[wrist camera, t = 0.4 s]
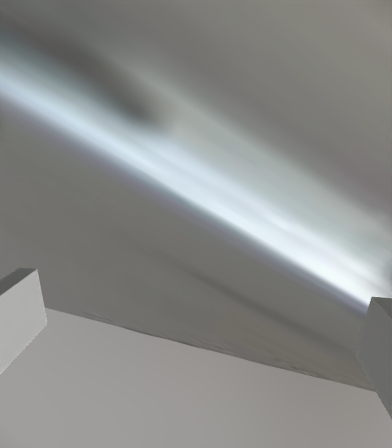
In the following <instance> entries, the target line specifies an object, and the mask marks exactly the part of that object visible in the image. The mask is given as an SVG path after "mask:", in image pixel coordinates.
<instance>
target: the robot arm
mask: <svg viewBox="0 0 392 448" xmlns="http://www.w3.org/2000/svg"><path fill="white" fill-rule="evenodd" d="M46 325H47V318H46V313H45V308H44V303H43V297H42V292H41V287H40V282H39V277H38V271H37V269H30V268H18V269H17V270H15V271H14V272H12V273H11V274H9V275H8V276H6V277H5V278H3V279H2V280H0V374H1V373H2V372H3V371H4V370H5V369H6V368H7V367H8V366H9V365H10V363H11V362H12V361H13V360H14V359H15V358H16V357H17V356H18V355H19V354H20V353H21V352H22V351H23V350H24V348H25V347H26V346H27V345H28V344H29V343H30V342H31V341H32V340H33V339H34V338H35V337H36V335H37V334H38V333H39V332H40V331H41V330H42V329H43V328H44V327H45V326H46ZM355 357H356V358H357V360H358V362H359V363H360V365H361V367H362V369H363V370H364V372H365V374H366V375H367V377H368V379H369V381H370V382H371V384H372V386H373V387H374V389H375V391H376V393H377V394H378V396H379V398H380V399H381V401H382V403H383V404H384V406H385V408H386V410H387V411H388V413H389V415H390V416H391V418H392V298H381V297H372V298H371V301H370V304H369V308H368V311H367V314H366V318H365V321H364V324H363V328H362V331H361V335H360V338H359V341H358V345H357V348H356V351H355Z"/></svg>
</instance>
